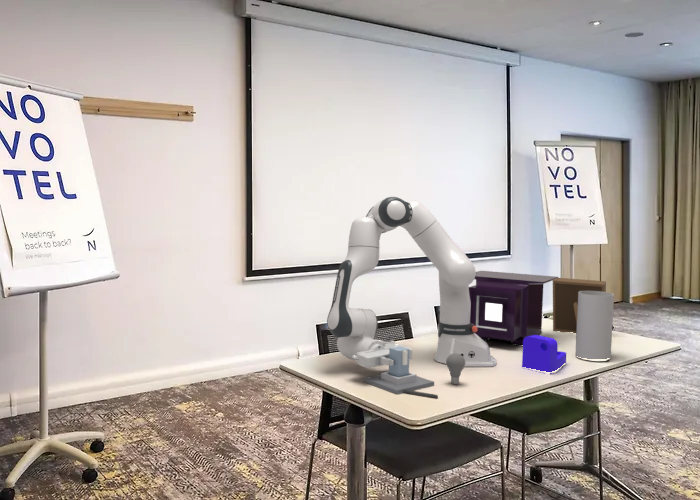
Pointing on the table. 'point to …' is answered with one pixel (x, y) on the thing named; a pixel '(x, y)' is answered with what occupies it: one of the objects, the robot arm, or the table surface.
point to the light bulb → (455, 366)
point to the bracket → (542, 353)
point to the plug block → (399, 361)
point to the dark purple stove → (507, 305)
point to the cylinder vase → (594, 324)
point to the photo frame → (570, 301)
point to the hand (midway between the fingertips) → (401, 361)
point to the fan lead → (420, 393)
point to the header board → (398, 382)
